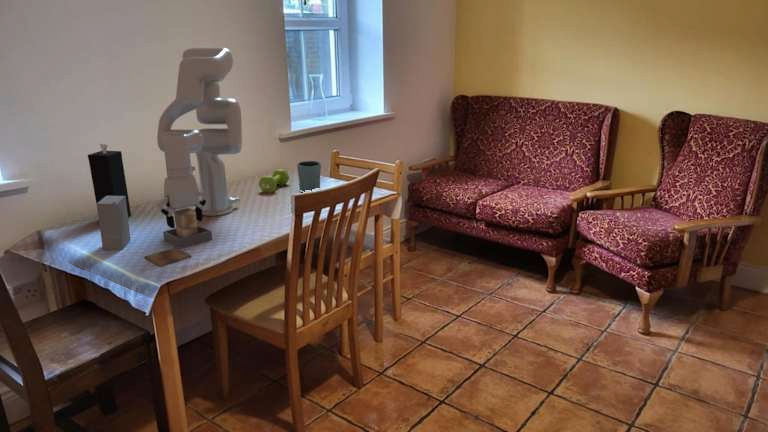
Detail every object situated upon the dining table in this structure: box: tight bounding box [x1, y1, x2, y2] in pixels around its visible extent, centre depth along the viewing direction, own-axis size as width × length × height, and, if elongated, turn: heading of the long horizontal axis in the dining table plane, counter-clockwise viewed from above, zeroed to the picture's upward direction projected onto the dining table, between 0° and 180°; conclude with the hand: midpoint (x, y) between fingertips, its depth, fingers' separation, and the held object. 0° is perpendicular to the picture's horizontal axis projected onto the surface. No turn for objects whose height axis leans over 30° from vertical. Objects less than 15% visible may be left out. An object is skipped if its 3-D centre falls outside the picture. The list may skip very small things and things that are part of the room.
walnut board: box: [143, 246, 192, 267], centre depth 174 cm, size 10×10×1 cm
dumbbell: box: [258, 168, 290, 194], centre depth 248 cm, size 16×8×7 cm, turn 164°
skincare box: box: [96, 196, 132, 251], centre depth 182 cm, size 8×7×16 cm
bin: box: [162, 224, 213, 249], centre depth 188 cm, size 11×11×3 cm
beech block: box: [173, 207, 198, 239], centre depth 187 cm, size 5×5×10 cm
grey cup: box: [296, 160, 322, 192], centre depth 243 cm, size 10×10×12 cm
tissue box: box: [87, 143, 132, 218], centre depth 206 cm, size 8×8×28 cm
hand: (185, 223), depth 186 cm, fingers open, 9 cm apart
